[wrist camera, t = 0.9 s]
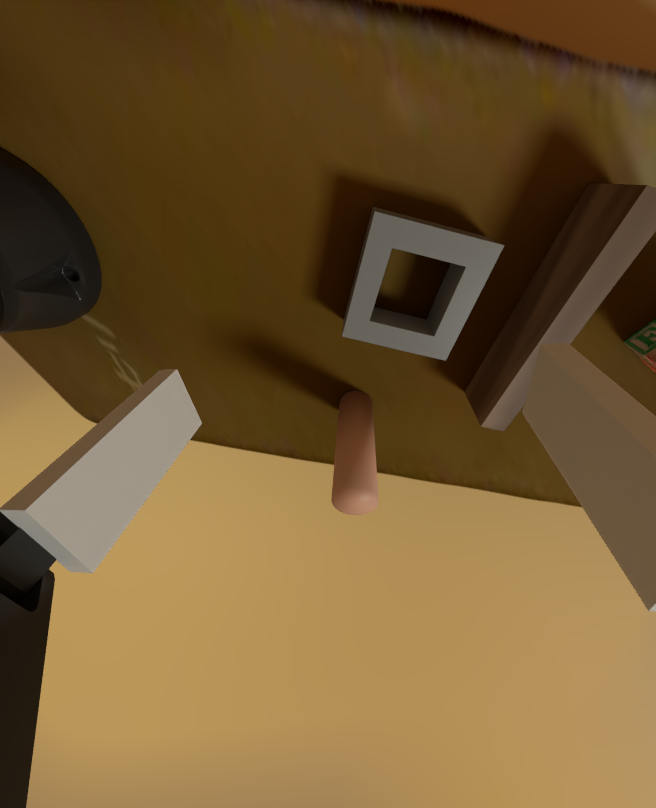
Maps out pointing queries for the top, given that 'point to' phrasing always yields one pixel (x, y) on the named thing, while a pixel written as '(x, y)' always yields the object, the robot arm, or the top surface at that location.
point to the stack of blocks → (645, 344)
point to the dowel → (355, 456)
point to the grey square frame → (454, 297)
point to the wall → (563, 292)
